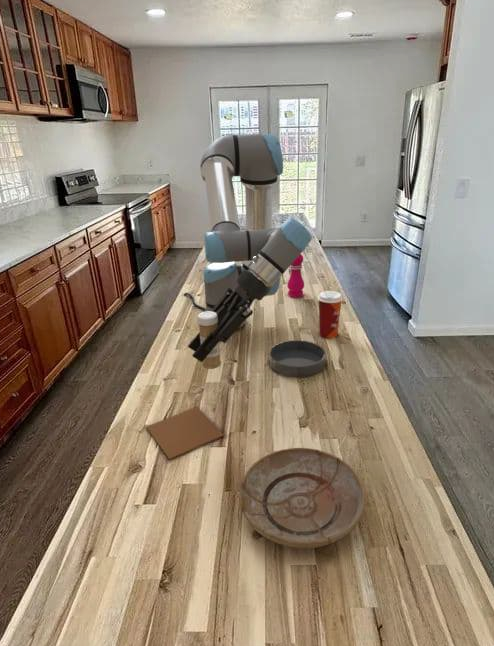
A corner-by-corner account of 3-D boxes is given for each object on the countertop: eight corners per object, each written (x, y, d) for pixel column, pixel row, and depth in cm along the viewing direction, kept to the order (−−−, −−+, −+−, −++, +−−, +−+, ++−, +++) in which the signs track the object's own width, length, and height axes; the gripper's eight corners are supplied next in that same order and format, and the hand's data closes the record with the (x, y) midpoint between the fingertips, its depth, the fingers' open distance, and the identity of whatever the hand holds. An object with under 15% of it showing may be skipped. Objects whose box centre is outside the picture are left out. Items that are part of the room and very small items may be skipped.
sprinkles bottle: (221, 360, 108) (217, 310, 102) (220, 369, 104) (216, 318, 98) (202, 360, 108) (198, 310, 102) (201, 370, 104) (196, 318, 98)
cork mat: (146, 428, 107) (146, 426, 107) (197, 408, 114) (197, 406, 114) (169, 460, 97) (169, 458, 97) (224, 436, 104) (223, 434, 104)
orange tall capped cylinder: (339, 340, 148) (342, 299, 141) (315, 339, 149) (316, 298, 143) (340, 330, 155) (343, 290, 148) (317, 328, 156) (319, 289, 150)
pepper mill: (307, 293, 189) (308, 248, 180) (299, 299, 183) (299, 252, 174) (292, 291, 192) (292, 246, 183) (284, 296, 187) (284, 250, 178)
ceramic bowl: (244, 464, 95) (243, 446, 93) (352, 465, 94) (354, 447, 92) (235, 561, 74) (233, 541, 72) (374, 563, 73) (377, 542, 71)
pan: (261, 355, 140) (261, 345, 138) (310, 346, 145) (310, 336, 143) (281, 381, 125) (281, 371, 124) (334, 370, 130) (335, 360, 129)
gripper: (236, 258, 106) (175, 331, 108) (260, 280, 91) (189, 363, 94) (257, 276, 110) (198, 346, 112) (283, 299, 95) (215, 379, 98)
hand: (194, 353), depth 103 cm, fingers closed on sprinkles bottle, 4 cm apart
